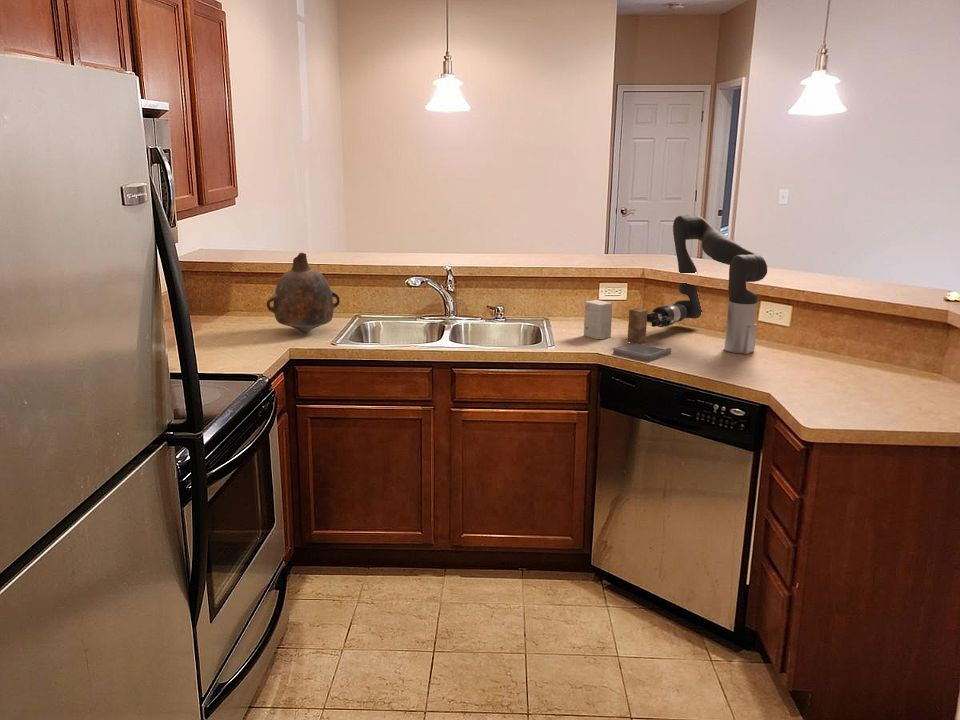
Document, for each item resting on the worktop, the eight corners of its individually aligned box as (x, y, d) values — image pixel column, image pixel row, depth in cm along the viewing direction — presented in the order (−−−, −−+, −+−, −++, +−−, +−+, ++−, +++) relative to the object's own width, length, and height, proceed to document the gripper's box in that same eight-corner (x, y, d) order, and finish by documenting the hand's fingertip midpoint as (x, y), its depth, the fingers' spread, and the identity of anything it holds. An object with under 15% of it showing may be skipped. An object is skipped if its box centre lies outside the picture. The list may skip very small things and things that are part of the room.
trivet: (670, 353, 268) (671, 348, 267) (648, 361, 258) (649, 355, 257) (635, 346, 277) (636, 340, 277) (613, 353, 267) (613, 347, 267)
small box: (611, 337, 289) (613, 302, 286) (599, 340, 285) (601, 305, 282) (594, 333, 295) (596, 299, 292) (583, 335, 291) (584, 301, 288)
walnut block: (645, 342, 283) (647, 309, 279) (638, 344, 279) (640, 311, 276) (634, 340, 286) (636, 308, 282) (627, 342, 282) (629, 309, 279)
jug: (310, 322, 307) (307, 245, 299) (349, 330, 295) (346, 250, 287) (259, 334, 288) (254, 252, 280) (298, 343, 276) (293, 258, 268)
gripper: (650, 302, 298) (626, 308, 287) (683, 308, 289) (660, 314, 277) (649, 322, 300) (625, 328, 289) (682, 328, 291) (658, 335, 279)
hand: (642, 321), depth 283 cm, fingers open, 8 cm apart
